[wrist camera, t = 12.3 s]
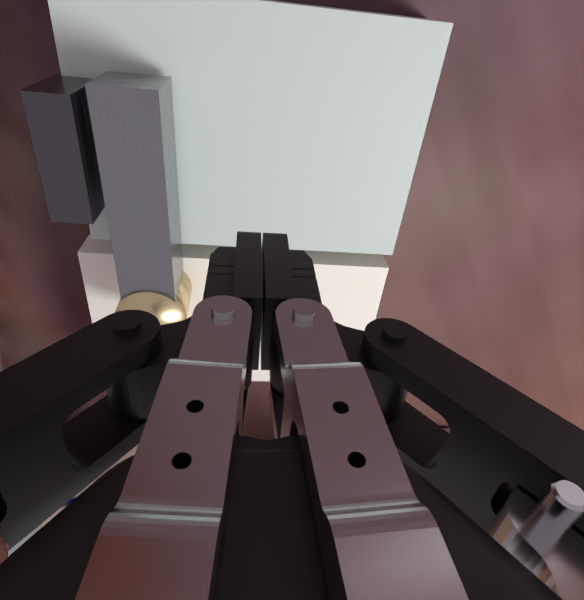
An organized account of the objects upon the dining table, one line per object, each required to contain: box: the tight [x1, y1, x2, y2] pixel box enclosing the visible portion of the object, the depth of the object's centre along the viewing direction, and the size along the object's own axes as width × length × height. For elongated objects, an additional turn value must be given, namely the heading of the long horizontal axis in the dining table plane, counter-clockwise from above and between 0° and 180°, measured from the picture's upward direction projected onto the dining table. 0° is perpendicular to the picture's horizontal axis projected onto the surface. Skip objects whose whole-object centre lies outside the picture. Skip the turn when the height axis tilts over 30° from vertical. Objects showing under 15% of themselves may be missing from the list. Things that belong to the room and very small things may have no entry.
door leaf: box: [48, 0, 453, 255], centre depth 26 cm, size 19×13×4 cm
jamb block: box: [77, 233, 389, 381], centre depth 33 cm, size 20×11×4 cm, turn 84°
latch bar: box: [85, 71, 192, 325], centre depth 24 cm, size 14×4×4 cm, turn 175°
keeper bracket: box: [20, 75, 105, 225], centre depth 22 cm, size 2×6×4 cm, turn 174°
